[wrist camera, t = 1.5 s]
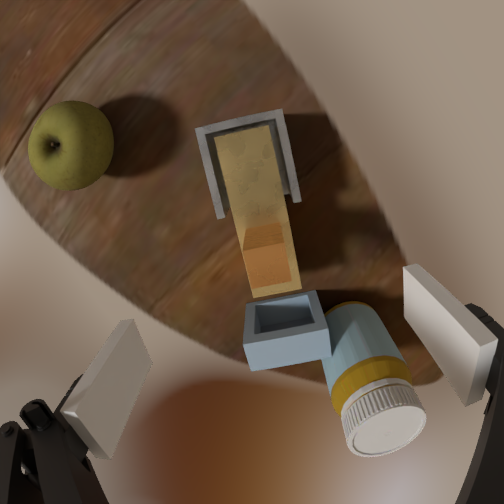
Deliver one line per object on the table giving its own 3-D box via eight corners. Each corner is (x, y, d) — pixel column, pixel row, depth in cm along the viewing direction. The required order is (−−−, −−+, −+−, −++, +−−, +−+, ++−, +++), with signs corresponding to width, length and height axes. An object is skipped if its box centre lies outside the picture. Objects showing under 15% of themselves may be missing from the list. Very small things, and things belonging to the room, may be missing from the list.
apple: (101, 88, 25) (60, 78, 18) (142, 151, 27) (109, 156, 21) (50, 138, 27) (6, 142, 20) (87, 198, 29) (47, 215, 22)
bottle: (370, 288, 31) (431, 386, 17) (381, 339, 33) (431, 438, 19) (306, 312, 32) (332, 424, 18) (324, 360, 34) (350, 469, 20)
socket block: (246, 303, 32) (242, 344, 26) (315, 290, 31) (328, 328, 25) (252, 328, 33) (251, 371, 26) (319, 315, 32) (331, 356, 26)
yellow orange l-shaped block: (220, 137, 26) (201, 136, 17) (267, 127, 25) (270, 120, 17) (254, 278, 30) (252, 331, 22) (296, 269, 30) (309, 321, 21)
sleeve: (206, 130, 27) (195, 128, 22) (278, 114, 26) (282, 108, 21) (224, 205, 29) (217, 219, 24) (294, 191, 28) (301, 201, 24)
